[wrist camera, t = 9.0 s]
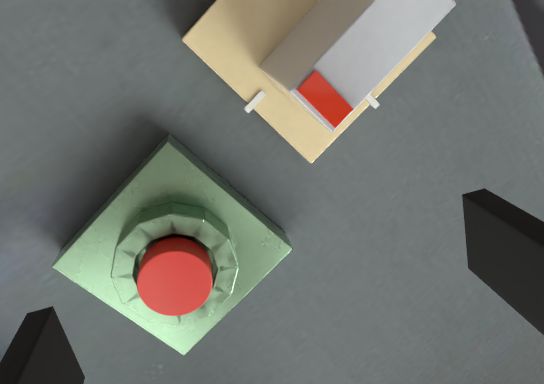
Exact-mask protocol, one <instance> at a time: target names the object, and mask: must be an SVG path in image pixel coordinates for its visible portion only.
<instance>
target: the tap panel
mask: <svg viewBox="0 0 544 384" xmlns="http://www.w3.org/2000/svg"><path fill="white" fill-rule="evenodd" d="M318 1H319V0H215V1H214V3H213V4H212V5H211V6H210V7H209V8H208V9H207V10H206V12H205V13H204V14H203V15H202V16H201V17H200V18H199V19H198V20H197V22H196V23H195V24H194V25H193V26H192V27H191V28H190V29H189V30H188V32H187V33H186V34H185V35H184V36H183V37H182V41H183V42H184V43H185V44H186V45H187V46H188V47H189V48H190V49H191V50H192V51H194V52H195V53H196V54H197V55H198V56H199V57H200V58H201V59H202V60H203V61H204V62H205V63H206V64H207V65H208V66H209V67H210V68H211V69H212V70H213V71H214V72H215V73H216V74H218V75H219V76H220V77H221V78H222V79H223V80H224V81H225V82H226V83H227V84H228V85H229V86H230V87H231V88H232V89H233V90H234V91H235V92H236V93H237V94H238V95H239V96H240V97H242V98H243V99H244V100H245V101H246V102H247V103H248V104H247V105H246V106H245V107H244V109H245V110H246V111H247V112H248V113H249V112H250V111H251V110H252V109H254V110H255V111H256V112H257V113H258V114H259V115H260V116H261V117H262V118H263V119H264V120H265V121H267V122H268V123H269V124H270V125H271V126H272V127H273V128H274V129H275V130H276V131H277V132H278V133H279V134H280V135H281V136H282V137H283V138H284V139H285V140H286V141H287V142H288V143H289V144H291V145H292V146H293V147H294V148H295V149H296V150H297V151H298V152H299V153H300V154H301V155H302V156H303V157H304V158H305V159H306V160H307V161H308V162H309V163H312V162H313V161H314V160H315V159H316V158H317V157H318V156H319V155H320V154H321V153H322V152H323V151H324V150H325V149H326V148H327V147H328V146H329V145H330V144H331V143H332V142H333V141H334V140H335V139H336V138H337V137H338V136H339V135H340V134H341V133H342V132H343V131H344V130H345V129H346V128H347V127H348V126H349V125H350V124H351V123H352V122H353V121H354V120H355V119H356V118H357V117H358V116H359V115H360V114H361V113H362V112H363V111H364V110H365V109H366V108H367V107H368V106H369V105H370V104H371V105H372V107H373V108H374V109H376V108H377V107H378V106H379V105H380V104H379V103H378V102H377V101H376V100H375V99H376V98H377V97H378V96H379V95H380V94H381V93H382V92H383V91H384V90H385V89H386V88H387V87H388V86H389V85H390V84H391V83H392V82H393V81H394V80H395V78H396V77H397V76H398V75H399V74H400V73H401V72H402V71H403V70H404V69H405V68H406V67H407V66H408V65H409V64H410V63H411V62H412V61H413V60H414V59H415V58H416V57H417V56H418V55H419V54H420V53H421V52H422V51H423V50H424V49H425V48H426V47H427V46H428V45H429V44H430V43H431V42H432V41H433V40H434V39H435V38H436V35H435V34H434V33H433V32H432V30H431V31H430V32H429V33H428V34H427V35H426V36H425V37H424V38H423V39H422V41H421V42H420V43H419V44H418V45H417V46H416V47H415V48H414V49H413V50H412V51H411V52H410V53H409V54H408V55H407V56H406V57H405V58H404V59H403V60H402V61H401V62H400V63H399V64H398V65H397V66H396V68H395V69H394V70H393V71H392V72H391V73H390V74H389V75H388V76H387V77H386V78H385V79H384V80H383V81H382V82H381V83H380V84H379V85H378V86H377V87H376V88H375V89H374V90H373V91H372V92H371V93H370V95H369V96H368V97H367V98H366V99H365V100H364V101H363V102H362V103H361V104H360V105H359V106H358V107H357V108H356V109H355V110H354V111H353V112H352V113H351V114H350V115H349V116H348V117H347V118H346V119H345V120H344V122H343V123H342V124H341V125H340V126H339V127H338V128H337V129H336V130H335V131H334V132H330V131H329V130H327V129H326V128H325V127H324V126H322V125H321V124H320V123H319V122H317V121H316V120H315V119H314V118H312V117H311V116H310V115H309V114H307V113H306V112H305V111H304V110H303V109H301V108H300V107H299V106H298V105H296V104H295V103H294V102H293V101H291V100H290V99H289V98H288V97H287V96H286V95H285V94H283V93H282V92H281V91H280V90H279V89H278V88H277V87H276V86H275V85H274V84H273V83H272V82H271V81H270V80H269V79H268V78H267V77H266V76H265V75H264V74H263V73H262V72H261V71H260V70H259V69H258V67H259V66H260V65H261V63H262V62H263V61H264V60H265V59H266V58H267V57H268V56H269V55H270V54H271V53H272V51H273V50H274V49H275V48H276V47H277V46H278V45H279V44H280V43H281V42H282V40H283V39H284V38H285V37H286V36H287V35H288V34H289V33H290V32H291V31H292V29H293V28H294V27H295V26H296V25H297V24H298V23H299V22H300V21H301V20H302V18H303V17H304V16H305V15H306V14H307V13H308V12H309V11H310V10H311V9H312V8H313V6H314V5H315V4H316V3H317V2H318Z"/></svg>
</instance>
